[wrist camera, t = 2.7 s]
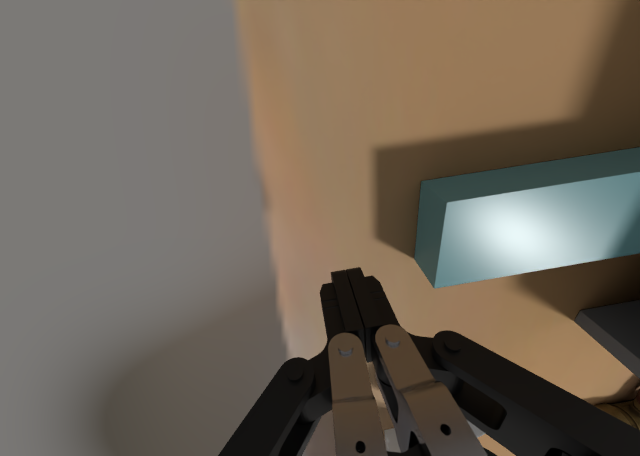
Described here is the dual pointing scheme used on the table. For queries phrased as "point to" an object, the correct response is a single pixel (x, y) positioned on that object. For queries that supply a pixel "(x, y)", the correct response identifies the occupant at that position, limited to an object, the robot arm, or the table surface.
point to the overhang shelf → (616, 331)
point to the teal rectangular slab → (529, 217)
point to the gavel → (625, 411)
